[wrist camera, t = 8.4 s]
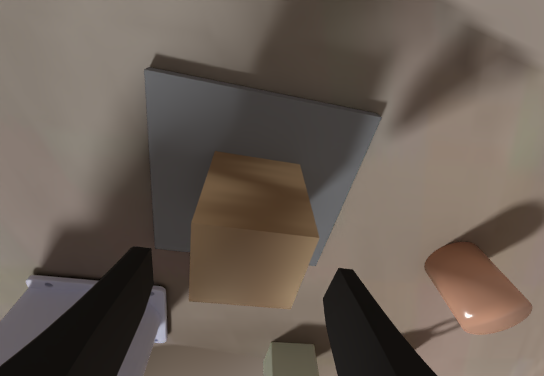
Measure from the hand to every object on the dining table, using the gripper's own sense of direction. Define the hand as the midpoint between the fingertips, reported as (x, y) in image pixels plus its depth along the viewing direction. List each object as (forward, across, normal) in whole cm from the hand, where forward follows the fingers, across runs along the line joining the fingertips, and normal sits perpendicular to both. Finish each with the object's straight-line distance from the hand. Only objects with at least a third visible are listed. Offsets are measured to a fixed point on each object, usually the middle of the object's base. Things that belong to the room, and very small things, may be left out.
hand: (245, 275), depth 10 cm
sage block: (+6, -7, +20) cm, 22 cm away
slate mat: (+6, 0, 0) cm, 6 cm away
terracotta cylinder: (+6, -16, +4) cm, 18 cm away
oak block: (+6, 0, 0) cm, 6 cm away
